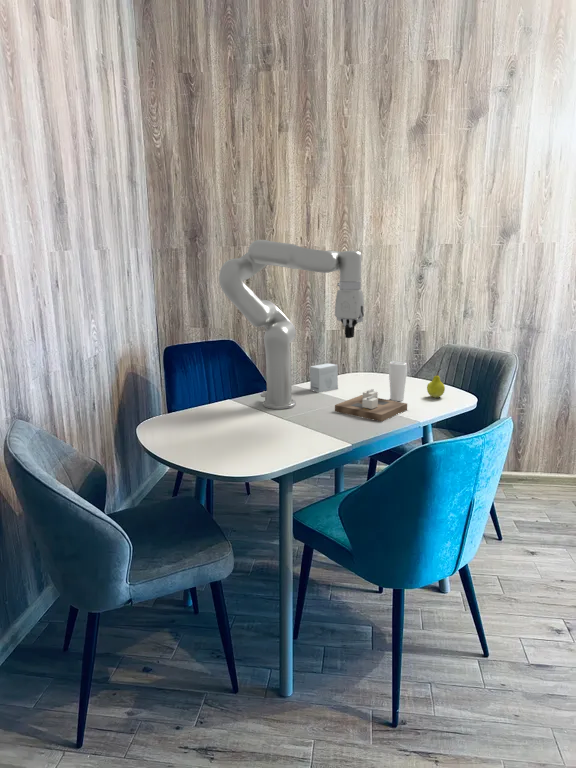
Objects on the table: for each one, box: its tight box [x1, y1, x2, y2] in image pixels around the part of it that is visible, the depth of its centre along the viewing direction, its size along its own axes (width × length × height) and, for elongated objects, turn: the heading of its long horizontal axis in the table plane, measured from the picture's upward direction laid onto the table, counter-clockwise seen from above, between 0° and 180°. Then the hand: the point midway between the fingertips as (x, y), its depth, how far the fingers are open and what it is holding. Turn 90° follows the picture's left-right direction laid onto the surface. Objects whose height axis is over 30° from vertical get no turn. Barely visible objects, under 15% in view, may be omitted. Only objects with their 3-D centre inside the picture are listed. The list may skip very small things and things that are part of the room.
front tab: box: [362, 396, 379, 409], centre depth 204 cm, size 4×4×4 cm
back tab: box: [362, 388, 379, 399], centre depth 214 cm, size 4×4×4 cm
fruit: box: [426, 368, 446, 399], centre depth 226 cm, size 7×7×12 cm
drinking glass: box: [388, 360, 408, 402], centre depth 222 cm, size 7×7×15 cm
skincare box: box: [309, 362, 339, 393], centre depth 240 cm, size 10×6×10 cm, turn 126°
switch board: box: [334, 394, 408, 422], centre depth 209 cm, size 20×18×2 cm
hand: (349, 337), depth 206 cm, fingers closed
